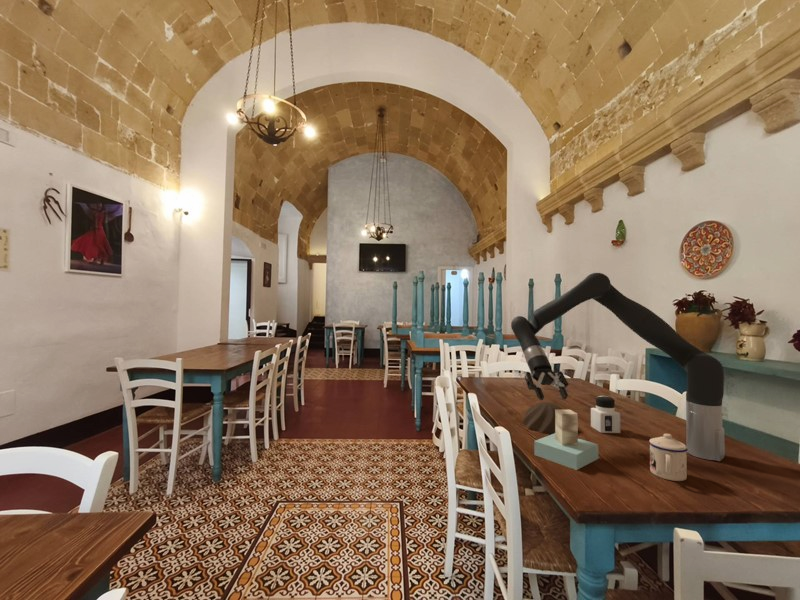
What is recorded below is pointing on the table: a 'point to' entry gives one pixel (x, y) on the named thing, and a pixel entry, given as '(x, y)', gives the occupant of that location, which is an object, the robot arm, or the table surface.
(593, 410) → the container
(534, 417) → the decorative dome
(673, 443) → the teacup with lid
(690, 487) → the table surface
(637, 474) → the table surface
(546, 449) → the teal block
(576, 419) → the birch block
